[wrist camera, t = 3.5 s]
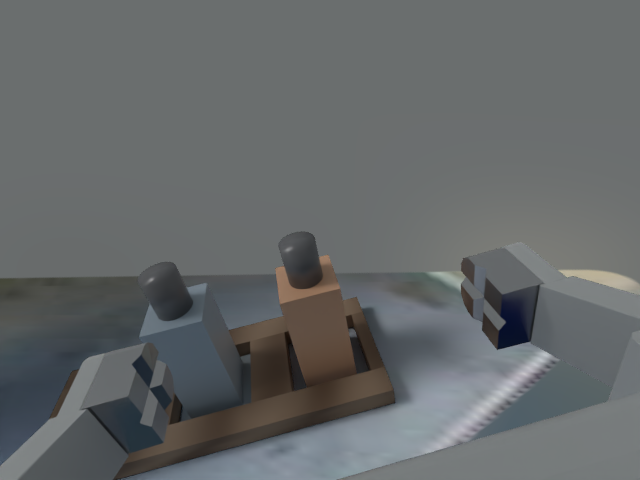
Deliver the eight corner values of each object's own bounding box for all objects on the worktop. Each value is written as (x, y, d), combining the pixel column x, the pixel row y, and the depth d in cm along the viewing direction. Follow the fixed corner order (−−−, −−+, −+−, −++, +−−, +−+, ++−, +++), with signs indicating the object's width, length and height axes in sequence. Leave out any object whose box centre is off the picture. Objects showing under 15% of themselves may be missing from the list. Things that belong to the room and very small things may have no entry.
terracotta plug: (307, 389, 29) (268, 267, 22) (300, 349, 32) (264, 233, 26) (357, 375, 29) (332, 250, 22) (345, 337, 32) (321, 219, 26)
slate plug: (191, 418, 28) (116, 302, 22) (196, 375, 32) (133, 263, 25) (243, 404, 28) (184, 285, 22) (243, 363, 32) (191, 248, 25)
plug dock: (26, 504, 25) (12, 494, 24) (80, 381, 34) (72, 370, 33) (395, 402, 27) (393, 389, 26) (358, 308, 35) (356, 297, 34)
